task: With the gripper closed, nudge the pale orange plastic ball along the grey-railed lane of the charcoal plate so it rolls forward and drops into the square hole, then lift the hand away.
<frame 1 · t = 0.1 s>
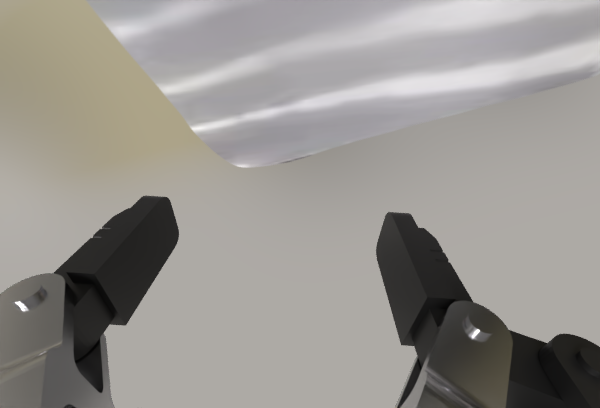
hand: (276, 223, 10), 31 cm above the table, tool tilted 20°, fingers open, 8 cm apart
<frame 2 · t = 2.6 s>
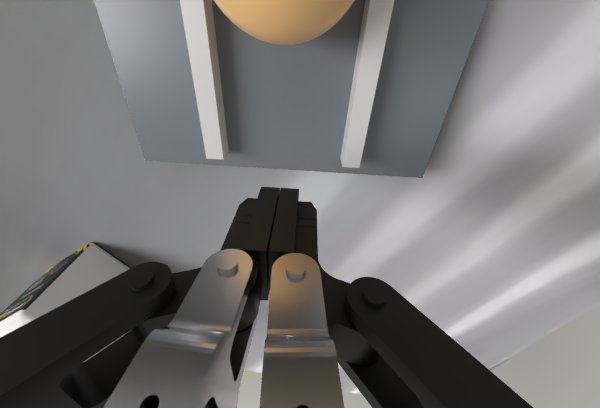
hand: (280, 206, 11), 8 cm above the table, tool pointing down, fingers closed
medicine bottle: (105, 274, 26), on the table
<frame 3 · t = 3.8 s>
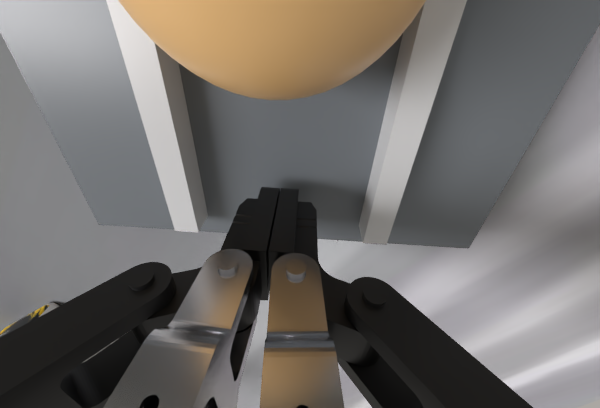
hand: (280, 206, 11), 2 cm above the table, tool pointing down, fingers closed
medicine bottle: (73, 332, 22), on the table
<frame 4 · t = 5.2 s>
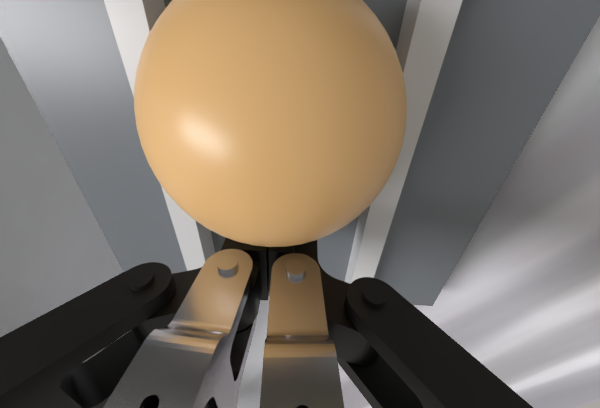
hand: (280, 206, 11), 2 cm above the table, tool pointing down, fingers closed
ball: (277, 125, 6), point 4 cm above the table, tilted 24°, touching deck, gripper
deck: (287, 36, 9), on the table
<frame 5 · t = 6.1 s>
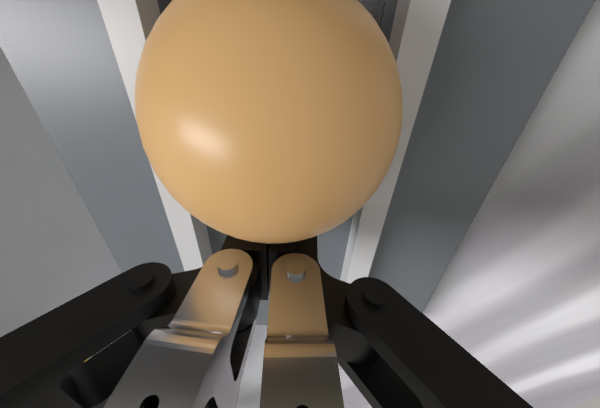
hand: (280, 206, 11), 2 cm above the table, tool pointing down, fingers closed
ball: (275, 124, 6), point 4 cm above the table, tilted 68°, touching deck, gripper
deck: (280, 130, 11), on the table
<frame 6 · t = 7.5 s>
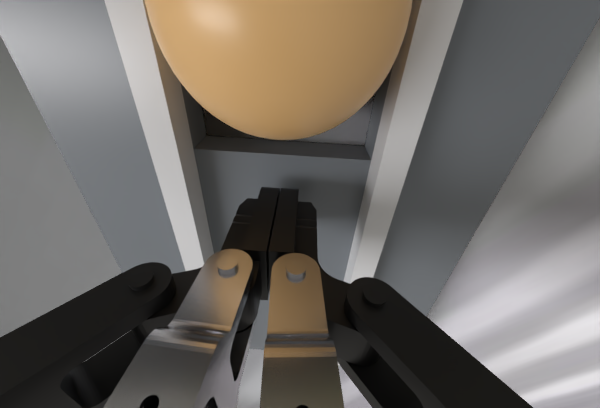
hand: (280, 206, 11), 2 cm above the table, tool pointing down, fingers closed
ball: (282, 15, 6), point 3 cm above the table, tilted 167°
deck: (284, 189, 13), on the table
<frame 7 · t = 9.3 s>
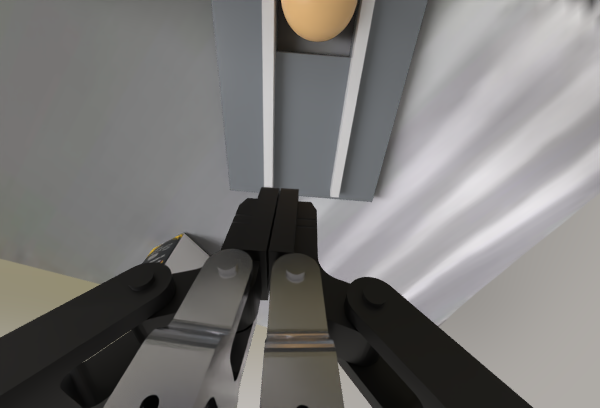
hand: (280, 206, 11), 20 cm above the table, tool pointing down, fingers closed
medicine bottle: (185, 253, 42), on the table
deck: (310, 81, 26), on the table
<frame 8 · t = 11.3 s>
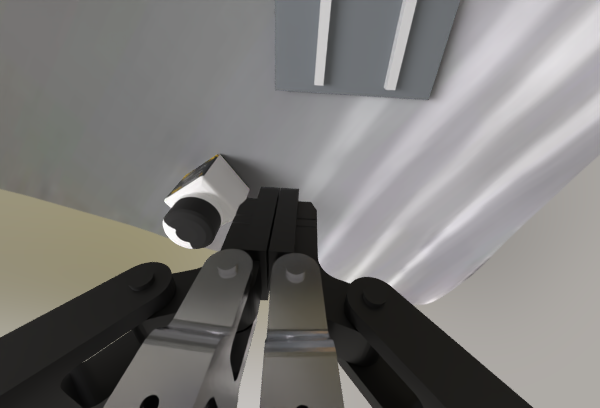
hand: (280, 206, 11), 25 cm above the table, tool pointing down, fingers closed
medicine bottle: (218, 181, 39), on the table
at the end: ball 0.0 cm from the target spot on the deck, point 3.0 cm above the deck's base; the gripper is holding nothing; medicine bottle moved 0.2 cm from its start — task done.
